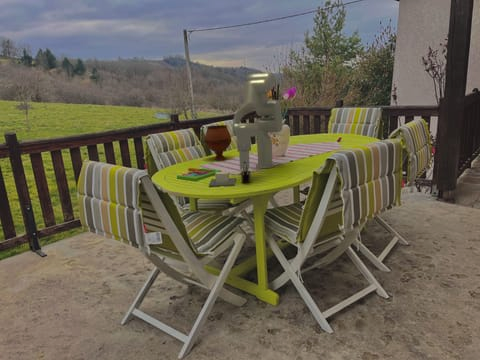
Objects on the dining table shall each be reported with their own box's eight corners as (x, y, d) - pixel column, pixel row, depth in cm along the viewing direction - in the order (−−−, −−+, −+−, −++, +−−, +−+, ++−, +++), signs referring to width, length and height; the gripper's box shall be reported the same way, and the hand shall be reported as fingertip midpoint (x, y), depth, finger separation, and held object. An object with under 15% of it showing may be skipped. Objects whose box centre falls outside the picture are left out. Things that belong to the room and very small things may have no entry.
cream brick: (216, 180, 209) (216, 172, 208) (229, 180, 209) (228, 171, 207) (216, 182, 204) (215, 174, 203) (228, 182, 204) (228, 173, 203)
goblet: (202, 160, 278) (199, 126, 271) (224, 156, 288) (221, 124, 282) (214, 163, 262) (211, 128, 256) (237, 159, 272) (235, 125, 266)
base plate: (211, 180, 214) (211, 179, 213) (235, 179, 213) (235, 177, 213) (208, 187, 200) (208, 185, 200) (234, 185, 199) (234, 184, 199)
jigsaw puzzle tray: (221, 173, 232) (193, 170, 247) (221, 170, 231) (193, 167, 247) (195, 182, 215) (167, 178, 230) (195, 178, 214) (166, 174, 230)
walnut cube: (241, 180, 209) (241, 171, 207) (250, 179, 208) (250, 170, 207) (241, 182, 204) (241, 173, 203) (250, 181, 204) (250, 173, 202)
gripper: (237, 145, 210) (240, 176, 215) (236, 151, 193) (238, 184, 198) (251, 145, 209) (252, 176, 214) (250, 150, 193) (252, 184, 198)
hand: (246, 179), depth 206 cm, fingers closed on walnut cube, 5 cm apart
